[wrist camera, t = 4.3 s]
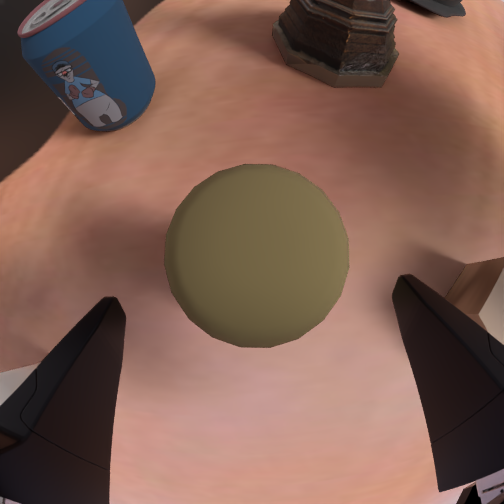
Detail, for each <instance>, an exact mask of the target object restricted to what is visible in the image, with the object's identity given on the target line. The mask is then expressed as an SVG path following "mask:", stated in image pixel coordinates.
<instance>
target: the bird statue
mask: <svg viewBox="0 0 504 504" xmlns="http://www.w3.org/2000/svg"><path fill="white" fill-rule="evenodd" d="M394 10H395V9H394V7H393V6H392V5H391V4H390V0H291V1H290V5H289V6H288V7H287V8H286V9H285V11H284V13H282V14H281V15H280V16H279V20H277V21H276V22H275V23H274V24H273V31H272V36H273V38H274V40H275V42H276V44H277V46H278V48H279V50H280V52H281V54H282V57H283V59H284V61H285V63H286V65H288V66H291V67H293V68H295V69H298V70H300V71H302V72H304V73H306V74H308V75H310V76H313V77H315V78H317V79H319V80H321V81H323V82H325V83H327V84H329V85H331V86H332V87H382V85H383V84H384V82H385V80H386V78H387V77H388V75H389V73H390V71H391V69H392V67H393V65H394V63H395V61H396V59H397V57H398V55H399V53H398V52H397V50H396V49H395V45H396V44H395V42H394V38H395V36H394V34H393V33H394V28H395V26H394V24H395V23H396V21H397V19H396V17H395V15H394V14H393V12H394Z"/></svg>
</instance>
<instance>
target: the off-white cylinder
mask: <svg viewBox="0 0 504 504" xmlns="http://www.w3.org/2000/svg"><path fill="white" fill-rule="evenodd" d="M40 363H41V362H40ZM40 363H37V364H33V365H29V366H25V367H21V368H17V369H14V370H10V371H6V372H1V373H0V405H1V404H2V403H3V402H4V401H5V400H6V399H7V398H8V397H9V396H10V395H11V394H12V393H13V392H14V391H15V390H16V389H17V388H18V387H19V386H20V385H21V384H22V383H23V382H24V381H25V379H26V378H27V377H28V376H29V375H30V374H31V373H32V372H33V370H34V369H35V368H37V366H38V365H39V364H40Z"/></svg>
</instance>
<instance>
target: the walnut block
mask: <svg viewBox="0 0 504 504" xmlns="http://www.w3.org/2000/svg"><path fill="white" fill-rule="evenodd" d="M445 299H446V300H448V301H449V302H450V303H452V304H453V305H454V306H456V307H457V308H458V309H459V310H461V311H462V312H463V313H465V314H466V315H467V316H468V317H470V318H471V319H472V320H474V321H475V322H476V323H477V324H479V325H480V326H481V327H482V328H484V329H485V330H486V331H487V332H489V333H490V334H491V335H492V336H493V337H495V338H496V339H497V340H498V341H500V342H501V343H502V344H503V345H504V257H502V258H497V259H492V260H487V261H482V262H477V263H472V264H467V265H466V266H465V268H464V270H463V271H462V273H461V274H460V276H459V277H458V279H457V280H456V282H455V283H454V285H453V286H452V288H451V289H450V291H449V292H448V294H447V295H446V297H445Z"/></svg>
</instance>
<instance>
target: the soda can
mask: <svg viewBox="0 0 504 504" xmlns="http://www.w3.org/2000/svg"><path fill="white" fill-rule="evenodd" d="M18 35H19V37H21V45H22V55H23V57H24V59H25V60H26V61H27V62H28V63H29V65H30V66H31V67H32V68H33V69H34V70H35V72H36V73H37V74H38V75H39V76H40V77H41V78H42V80H43V81H44V82H45V83H46V84H47V85H48V86H49V88H50V89H51V90H52V91H53V92H54V93H55V94H56V95H57V96H58V98H59V99H60V100H61V101H62V102H63V103H64V104H65V105H66V107H67V108H68V109H69V110H70V111H71V112H72V113H73V114H74V115H75V116H76V117H77V119H78V120H79V121H80V122H81V123H82V124H83V125H84V126H85V127H87V128H89V129H91V130H95V131H115V130H119V129H122V128H124V127H126V126H128V125H130V124H131V123H133V122H134V121H136V120H137V119H138V118H139V117H140V116H141V115H142V114H143V113H144V112H145V110H146V109H147V107H148V106H149V104H150V101H151V98H152V96H153V93H154V89H155V76H154V74H153V72H152V69H151V67H150V65H149V62H148V60H147V58H146V55H145V53H144V51H143V48H142V46H141V43H140V41H139V39H138V36H137V34H136V32H135V29H134V27H133V24H132V22H131V20H130V17H129V15H128V12H127V10H126V7H125V5H124V3H123V0H44V1H43V2H42V3H41V4H40V5H38V6H37V7H36V8H35V9H34V10H33V11H32V12H31V13H30V14H29V15H28V16H27V17H26V18H25V19H24V21H23V22H22V23H21V25H20V27H19V29H18Z"/></svg>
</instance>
